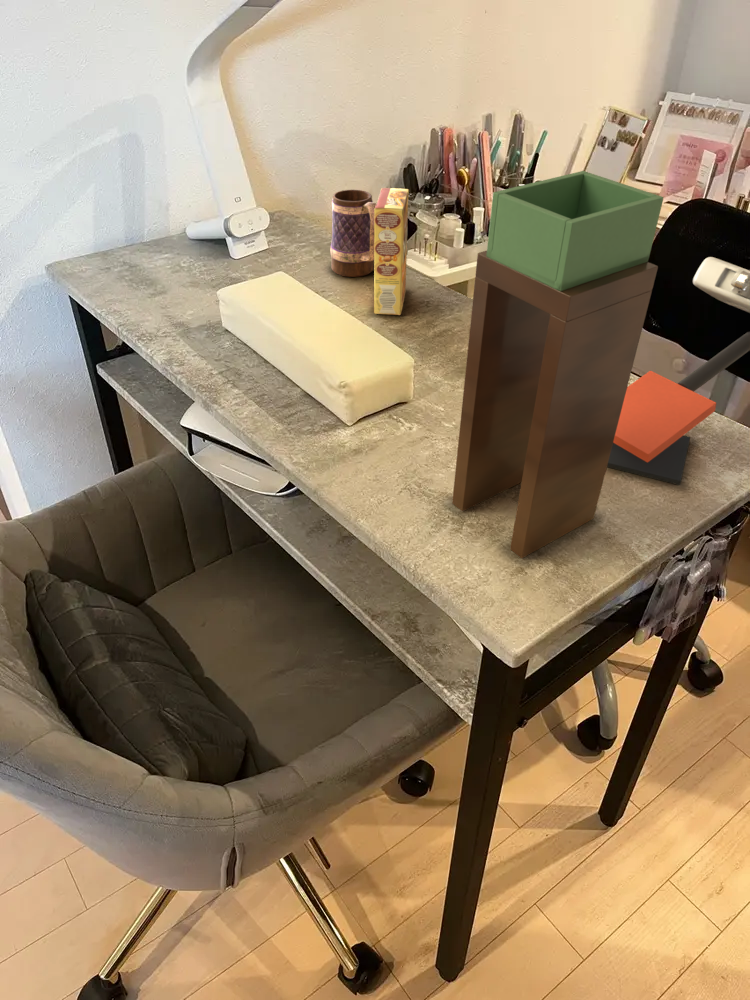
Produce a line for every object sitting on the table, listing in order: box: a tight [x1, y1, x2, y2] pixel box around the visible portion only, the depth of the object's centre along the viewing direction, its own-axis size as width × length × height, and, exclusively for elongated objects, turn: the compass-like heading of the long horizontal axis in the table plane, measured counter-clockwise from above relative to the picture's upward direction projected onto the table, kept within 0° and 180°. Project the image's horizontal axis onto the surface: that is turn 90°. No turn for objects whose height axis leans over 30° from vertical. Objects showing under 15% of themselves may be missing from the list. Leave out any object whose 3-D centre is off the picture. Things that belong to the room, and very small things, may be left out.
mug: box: [330, 189, 377, 278], centre depth 119 cm, size 10×7×12 cm
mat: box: [607, 435, 691, 486], centre depth 85 cm, size 10×9×1 cm
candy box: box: [373, 187, 410, 316], centre depth 110 cm, size 9×4×15 cm, turn 174°
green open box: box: [486, 170, 664, 291], centre depth 59 cm, size 10×8×5 cm
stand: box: [451, 250, 659, 559], centre depth 69 cm, size 10×10×26 cm
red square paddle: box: [613, 331, 750, 463], centre depth 84 cm, size 23×9×2 cm, turn 126°
